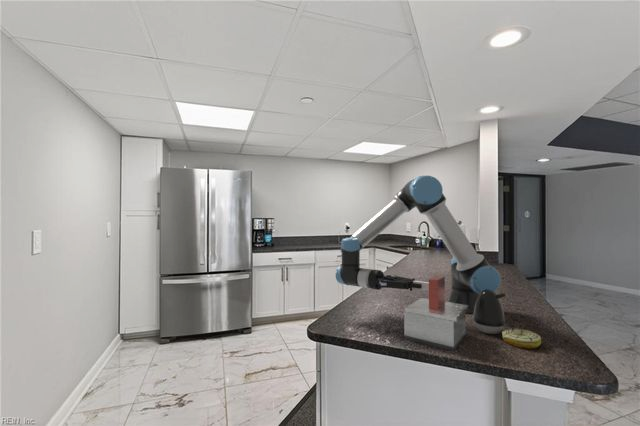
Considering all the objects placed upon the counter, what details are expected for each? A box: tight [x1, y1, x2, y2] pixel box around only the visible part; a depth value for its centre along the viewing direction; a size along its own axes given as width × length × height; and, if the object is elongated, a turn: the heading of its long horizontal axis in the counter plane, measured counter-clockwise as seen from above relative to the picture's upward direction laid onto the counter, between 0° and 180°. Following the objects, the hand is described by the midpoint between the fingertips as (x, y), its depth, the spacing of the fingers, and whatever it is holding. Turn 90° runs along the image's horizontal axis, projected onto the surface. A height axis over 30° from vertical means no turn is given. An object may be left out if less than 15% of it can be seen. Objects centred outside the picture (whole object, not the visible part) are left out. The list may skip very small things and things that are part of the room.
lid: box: [404, 275, 469, 322], centre depth 107 cm, size 17×17×11 cm
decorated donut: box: [501, 328, 542, 350], centre depth 101 cm, size 10×11×4 cm
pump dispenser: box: [472, 289, 506, 335], centre depth 111 cm, size 10×10×15 cm
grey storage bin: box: [403, 311, 467, 351], centre depth 107 cm, size 16×16×9 cm
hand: (431, 287), depth 108 cm, fingers closed
